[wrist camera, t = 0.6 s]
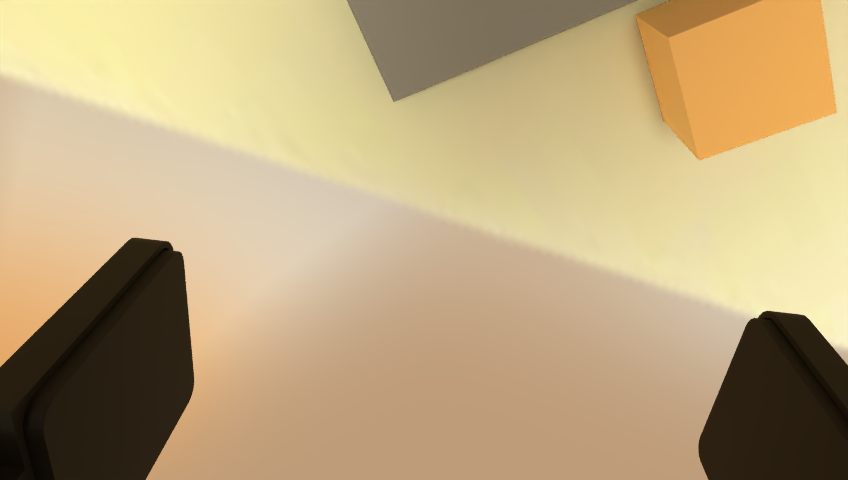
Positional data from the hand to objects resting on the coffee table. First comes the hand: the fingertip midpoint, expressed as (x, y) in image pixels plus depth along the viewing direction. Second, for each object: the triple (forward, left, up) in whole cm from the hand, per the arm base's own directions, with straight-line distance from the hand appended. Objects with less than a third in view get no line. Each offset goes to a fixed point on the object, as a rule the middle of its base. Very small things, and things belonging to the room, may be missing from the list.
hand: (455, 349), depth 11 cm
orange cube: (-12, +5, -26) cm, 29 cm away
